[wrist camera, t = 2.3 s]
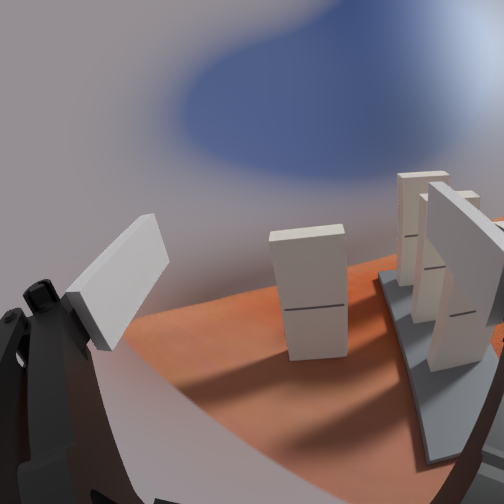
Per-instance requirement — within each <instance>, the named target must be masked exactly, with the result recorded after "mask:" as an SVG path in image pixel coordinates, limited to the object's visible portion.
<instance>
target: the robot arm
mask: <svg viewBox="0 0 504 504" xmlns="http://www.w3.org/2000/svg"><path fill="white" fill-rule="evenodd" d="M426 237H427V238H428V240H429V241H430V242H431V244H432V245H433V247H434V248H435V249H436V251H437V252H438V254H439V255H440V256H441V258H442V259H443V261H444V262H445V264H446V265H447V267H448V268H449V269H450V271H451V272H452V274H453V275H454V277H455V278H456V280H457V281H458V283H459V285H460V286H461V288H462V289H463V291H464V292H465V294H466V296H467V297H468V299H469V300H470V302H471V304H472V305H473V307H474V309H475V310H476V312H477V314H478V316H479V317H480V319H481V321H482V322H483V324H484V326H485V327H489V326H493V325H497V324H501V323H502V322H503V319H504V228H502V227H500V226H498V225H497V224H495V223H493V222H492V221H491V220H489V219H488V218H487V217H486V216H485V215H484V214H483V213H481V212H480V211H479V210H478V209H477V208H475V207H474V206H473V205H472V204H471V203H469V202H468V201H467V200H466V199H464V198H463V197H462V196H461V195H459V194H458V193H457V192H456V191H454V190H453V189H451V188H450V187H449V186H448V185H446V184H445V183H444V182H442V181H441V182H428V211H427V229H426ZM168 263H169V258H168V255H167V252H166V249H165V246H164V243H163V240H162V237H161V234H160V231H159V228H158V225H157V221H156V218H155V215H154V213H152V214H147V215H141V216H140V217H139V218H138V219H137V220H136V221H135V222H134V223H132V225H130V226H129V227H128V228H127V229H126V230H125V231H124V232H123V233H122V234H121V235H120V236H119V237H118V238H117V239H116V240H115V241H114V242H113V243H112V244H111V245H110V246H109V247H108V248H107V249H106V250H105V251H103V253H101V255H100V256H99V257H98V258H97V259H96V260H95V261H94V262H93V263H92V264H91V265H90V266H89V267H88V268H87V269H86V270H85V271H84V272H83V273H82V274H81V275H80V276H79V277H78V278H77V279H76V280H75V282H74V283H73V284H72V285H71V286H70V287H69V288H68V289H67V290H66V291H65V294H64V296H63V297H62V298H61V299H60V298H59V296H58V295H57V293H56V291H55V289H54V287H53V285H52V283H51V281H50V280H48V279H44V280H41V281H38V282H36V283H35V284H33V285H32V286H30V287H29V288H28V289H27V290H26V291H25V293H24V294H23V297H24V299H25V301H26V302H27V304H28V306H29V308H30V310H31V311H32V313H33V316H30V317H26V316H25V314H24V312H23V311H22V309H21V308H15V309H12V310H9V311H7V312H6V313H5V314H4V316H3V317H2V318H1V320H0V504H144V503H143V501H142V500H141V499H140V498H139V497H138V496H137V494H136V493H135V491H134V489H133V487H132V485H131V482H130V480H129V477H128V475H127V472H126V470H125V467H124V465H123V462H122V459H121V457H120V454H119V451H118V448H117V446H116V443H115V440H114V437H113V434H112V431H111V428H110V425H109V421H108V418H107V415H106V411H105V408H104V405H103V401H102V397H101V394H100V390H99V386H98V382H97V378H96V374H95V370H94V365H93V361H92V356H91V352H90V350H89V349H88V347H87V345H86V344H87V343H88V341H89V340H90V338H91V340H92V342H93V343H94V345H95V347H96V348H97V350H103V351H113V349H114V348H115V346H116V344H117V343H118V341H119V339H120V338H121V336H122V334H123V333H124V331H125V330H126V328H127V326H128V325H129V323H130V322H131V320H132V318H133V317H134V315H135V313H136V312H137V310H138V309H139V307H140V305H141V304H142V303H143V301H144V299H145V298H146V296H147V295H148V293H149V292H150V290H151V288H152V287H153V285H154V284H155V282H156V281H157V279H158V278H159V276H160V275H161V273H162V272H163V270H164V269H165V267H166V266H167V264H168ZM502 342H504V338H503V341H502ZM16 352H17V354H18V355H19V356H20V358H21V359H22V361H23V362H24V365H23V367H22V366H21V365H20V364H19V363H18V361H17V358H16ZM154 504H178V503H174V502H169V501H165V500H160V499H157V498H155V501H154ZM430 504H504V346H503V349H502V353H501V356H500V359H499V363H498V366H497V369H496V372H495V375H494V378H493V381H492V383H491V386H490V389H489V392H488V394H487V397H486V399H485V402H484V404H483V407H482V409H481V412H480V414H479V416H478V419H477V421H476V423H475V425H474V428H473V430H472V432H471V434H470V436H469V438H468V440H467V442H466V444H465V446H464V448H463V450H462V452H461V454H460V456H459V458H458V460H457V461H456V463H455V465H454V467H453V469H452V470H451V472H450V474H449V476H448V477H447V479H446V481H445V482H444V484H443V485H442V487H441V489H440V490H439V492H438V493H437V495H436V496H435V498H434V499H433V500H432V501H431V503H430Z"/></svg>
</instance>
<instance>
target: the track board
mask: <svg viewBox="0 0 504 504" xmlns="http://www.w3.org/2000/svg"><path fill="white" fill-rule="evenodd" d="M378 279H379V282H380V284H381V287H382V290H383V293H384V296H385V299H386V302H387V305H388V308H389V311H390V314H391V318H392V321H393V324H394V327H395V330H396V334H397V337H398V341H399V344H400V347H401V351H402V355H403V358H404V362H405V366H406V369H407V373H408V377H409V381H410V385H411V389H412V393H413V397H414V402H415V406H416V411H417V415H418V420H419V425H420V430H421V435H422V440H423V446H424V451H425V457H426V463H427V465H430V464H434V463H438V462H441V461H445V460H449V459H452V458H456V457H459V456H460V454H461V452H462V450H463V448H464V446H465V444H466V442H467V440H468V438H469V436H470V434H471V432H472V430H473V428H474V425H475V423H476V421H477V419H478V416H479V414H480V412H481V409H482V407H483V404H484V402H485V399H486V397H487V394H488V392H489V389H490V386H491V383H492V381H493V378H494V375H495V372H496V369H497V366H498V363H499V359H498V357H497V355H496V353H495V351H494V349H493V347H492V345H491V343H489V345H488V348H487V350H486V352H485V355H484V357H483V360H481V361H477V362H473V363H469V364H465V365H461V366H457V367H453V368H448V369H443V370H439V371H434V372H431V371H430V368H429V365H428V362H427V359H426V358H427V354H428V350H429V347H430V343H431V339H432V335H433V331H434V326H435V322H436V320H433V321H427V322H421V323H415V324H414V322H413V320H412V317H411V314H410V310H411V302H412V295H413V286H414V285H409V286H401V287H399V285H398V282H397V280H396V270H389V271H380V272H378Z"/></svg>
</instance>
